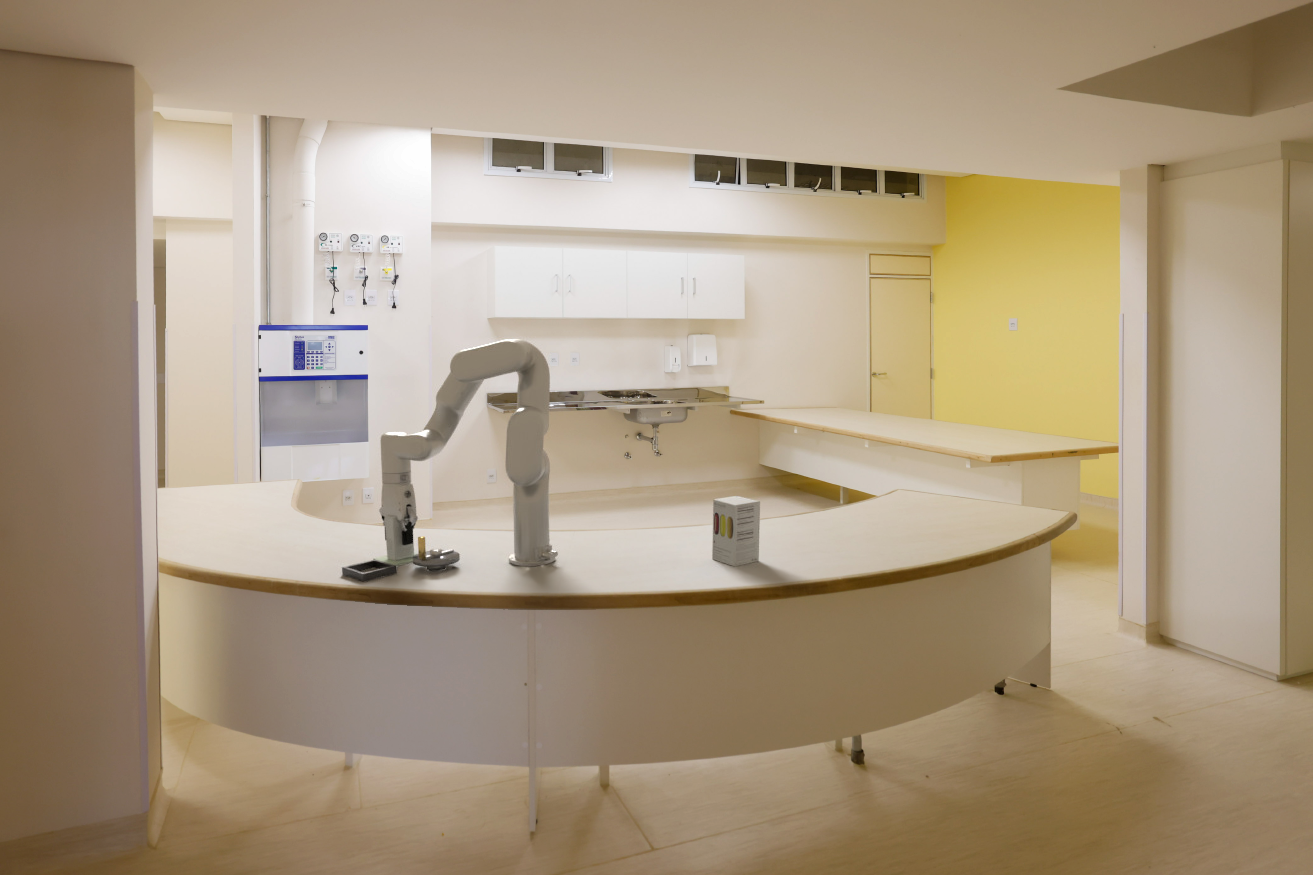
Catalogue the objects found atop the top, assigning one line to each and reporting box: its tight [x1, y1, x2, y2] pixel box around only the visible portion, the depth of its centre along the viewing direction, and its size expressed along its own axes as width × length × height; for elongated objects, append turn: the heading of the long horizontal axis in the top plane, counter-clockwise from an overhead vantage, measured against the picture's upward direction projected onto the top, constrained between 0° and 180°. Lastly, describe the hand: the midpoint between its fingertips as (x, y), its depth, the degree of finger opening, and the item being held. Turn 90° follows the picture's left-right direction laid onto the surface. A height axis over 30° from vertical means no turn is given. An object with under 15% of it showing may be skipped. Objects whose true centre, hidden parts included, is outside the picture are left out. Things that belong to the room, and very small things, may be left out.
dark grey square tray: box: [341, 559, 398, 583], centre depth 212 cm, size 10×10×2 cm
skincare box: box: [384, 516, 415, 561], centre depth 225 cm, size 6×4×12 cm
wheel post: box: [426, 565, 447, 572], centre depth 217 cm, size 5×5×2 cm
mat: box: [372, 553, 417, 566], centre depth 226 cm, size 10×10×1 cm
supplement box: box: [711, 495, 761, 567], centre depth 224 cm, size 10×9×17 cm
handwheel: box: [411, 536, 461, 568], centre depth 216 cm, size 12×12×7 cm
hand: (399, 541), depth 225 cm, fingers open, 7 cm apart
